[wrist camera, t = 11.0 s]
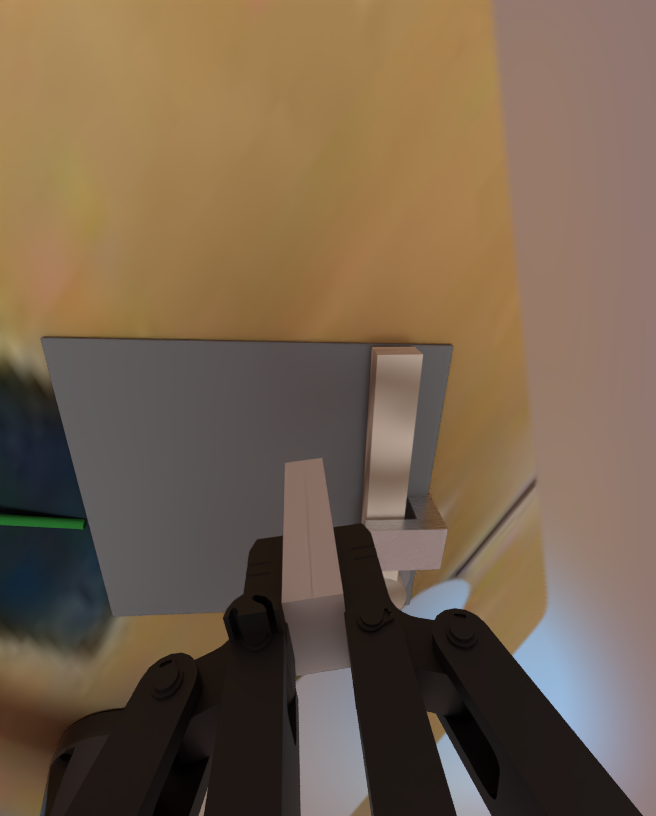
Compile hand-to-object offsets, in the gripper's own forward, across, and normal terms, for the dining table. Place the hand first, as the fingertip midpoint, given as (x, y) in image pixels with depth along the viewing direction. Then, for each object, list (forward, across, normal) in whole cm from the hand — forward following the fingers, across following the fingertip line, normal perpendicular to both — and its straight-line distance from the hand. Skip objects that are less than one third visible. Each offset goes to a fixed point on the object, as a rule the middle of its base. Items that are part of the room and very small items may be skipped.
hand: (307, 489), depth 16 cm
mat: (+14, -4, -9) cm, 17 cm away
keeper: (+14, +6, -13) cm, 20 cm away
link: (+13, +5, -10) cm, 17 cm away
